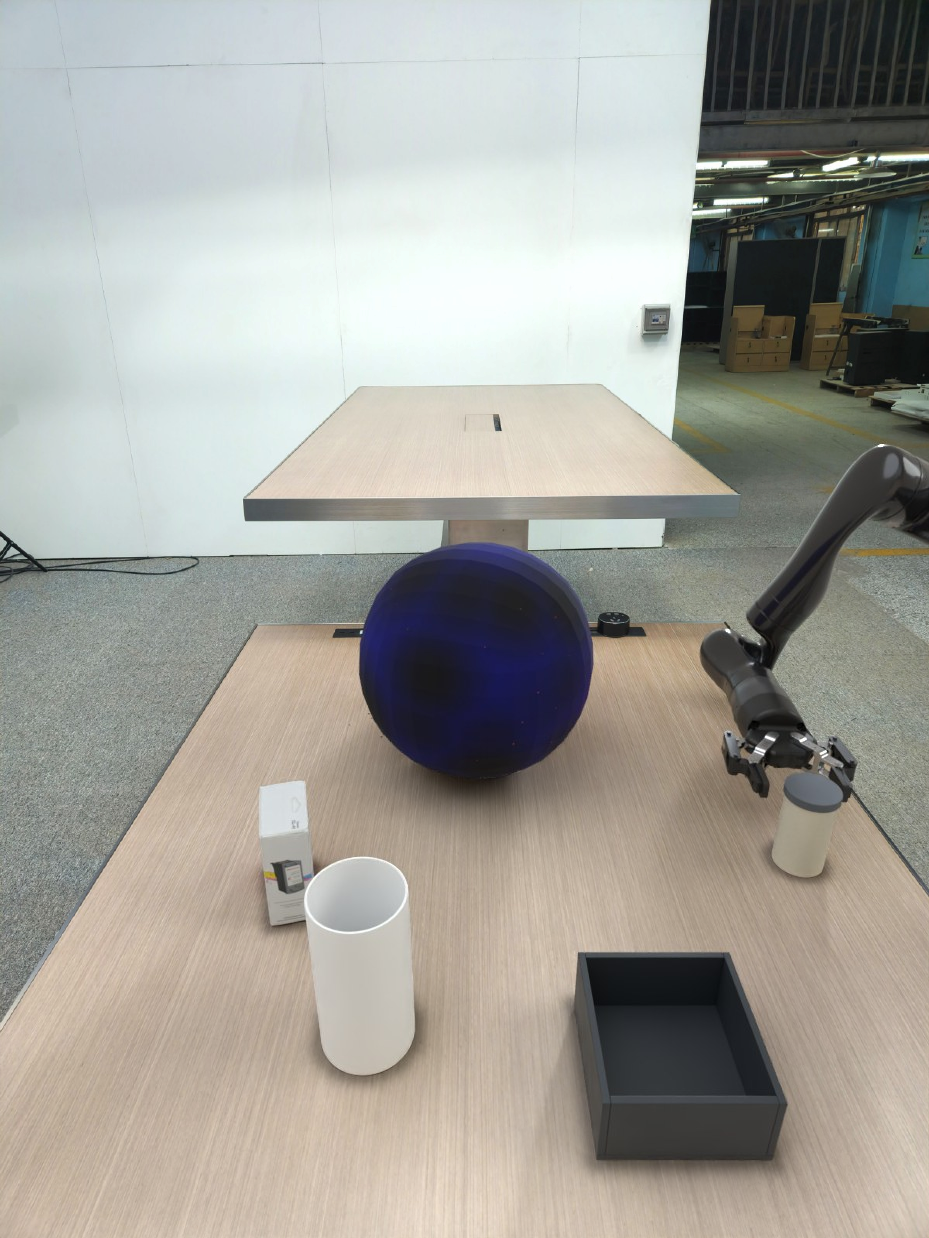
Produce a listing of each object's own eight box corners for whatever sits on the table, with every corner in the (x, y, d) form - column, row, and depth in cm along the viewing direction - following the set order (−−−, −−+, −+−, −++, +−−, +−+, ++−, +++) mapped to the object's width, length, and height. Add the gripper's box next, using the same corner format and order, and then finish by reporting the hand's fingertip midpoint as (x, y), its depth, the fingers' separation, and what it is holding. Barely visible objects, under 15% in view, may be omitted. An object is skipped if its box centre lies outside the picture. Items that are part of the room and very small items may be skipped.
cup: (403, 1082, 62) (394, 940, 55) (307, 1067, 63) (287, 926, 56) (423, 996, 69) (418, 861, 62) (337, 984, 70) (323, 851, 63)
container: (812, 842, 87) (828, 771, 83) (834, 878, 82) (853, 805, 78) (762, 842, 87) (776, 772, 83) (781, 879, 82) (797, 805, 78)
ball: (296, 791, 97) (269, 574, 84) (394, 678, 123) (384, 501, 111) (560, 850, 86) (574, 612, 74) (604, 713, 113) (619, 522, 101)
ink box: (268, 869, 84) (255, 783, 79) (314, 861, 85) (304, 776, 80) (269, 929, 76) (255, 838, 71) (320, 920, 77) (309, 829, 72)
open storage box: (719, 1004, 68) (729, 951, 65) (772, 1159, 56) (788, 1103, 53) (573, 1004, 68) (577, 951, 65) (596, 1159, 56) (602, 1103, 53)
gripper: (713, 688, 97) (744, 762, 82) (827, 693, 95) (880, 769, 81) (705, 738, 100) (734, 817, 85) (816, 743, 98) (865, 824, 84)
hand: (805, 793), depth 83 cm, fingers open, 8 cm apart
